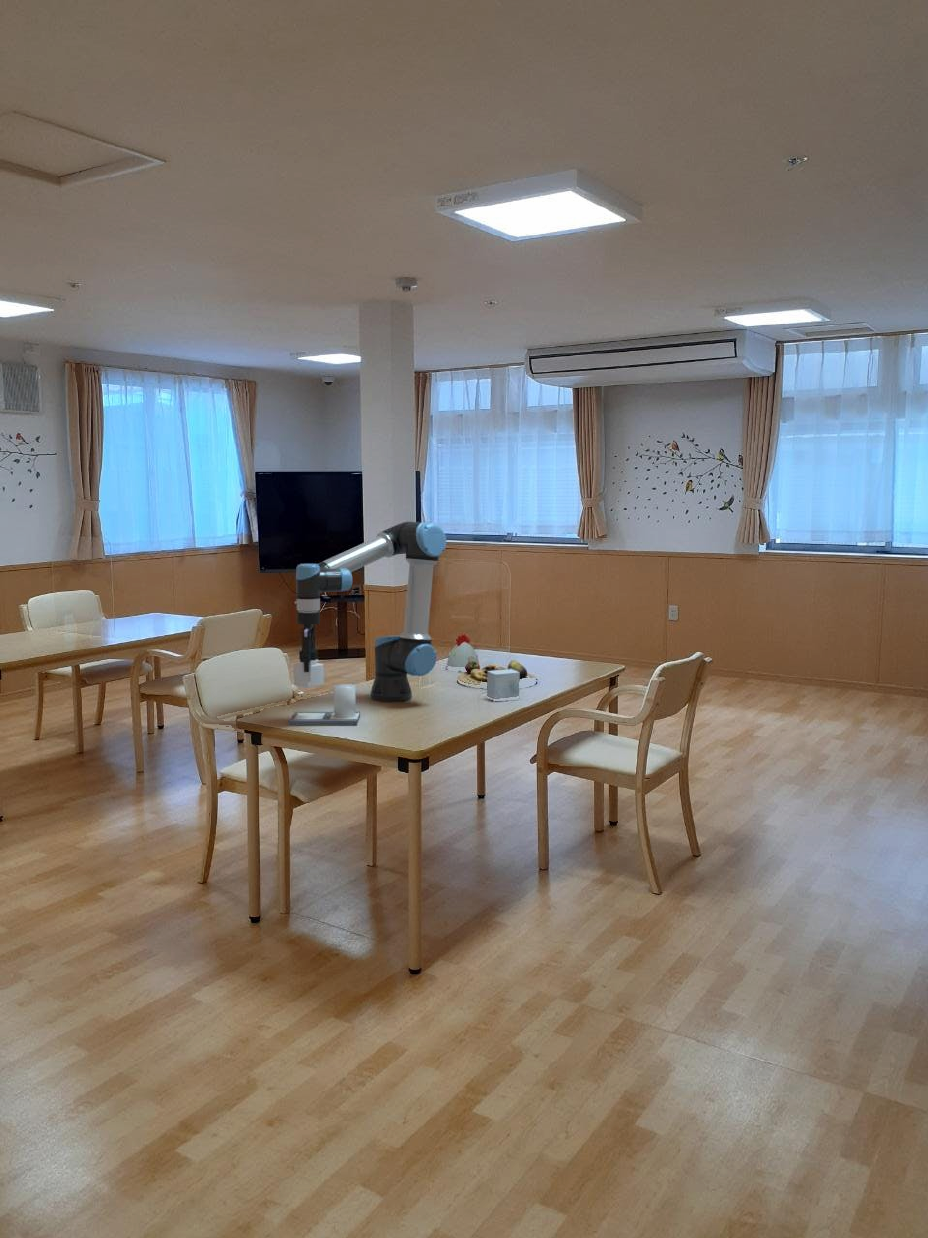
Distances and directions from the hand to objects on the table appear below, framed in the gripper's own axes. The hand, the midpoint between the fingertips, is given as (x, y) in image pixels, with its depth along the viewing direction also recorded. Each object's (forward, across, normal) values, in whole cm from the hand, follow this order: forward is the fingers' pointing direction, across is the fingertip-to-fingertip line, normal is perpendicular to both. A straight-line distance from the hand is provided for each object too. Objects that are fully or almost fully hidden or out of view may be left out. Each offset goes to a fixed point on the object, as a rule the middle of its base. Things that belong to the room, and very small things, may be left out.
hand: (309, 678), depth 334 cm
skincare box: (+14, -34, +66) cm, 76 cm away
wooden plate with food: (+14, -68, +66) cm, 96 cm away
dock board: (+14, 0, +5) cm, 15 cm away
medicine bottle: (+2, 0, 0) cm, 2 cm away
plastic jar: (+12, 0, +12) cm, 17 cm away
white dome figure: (+14, -96, +53) cm, 110 cm away
